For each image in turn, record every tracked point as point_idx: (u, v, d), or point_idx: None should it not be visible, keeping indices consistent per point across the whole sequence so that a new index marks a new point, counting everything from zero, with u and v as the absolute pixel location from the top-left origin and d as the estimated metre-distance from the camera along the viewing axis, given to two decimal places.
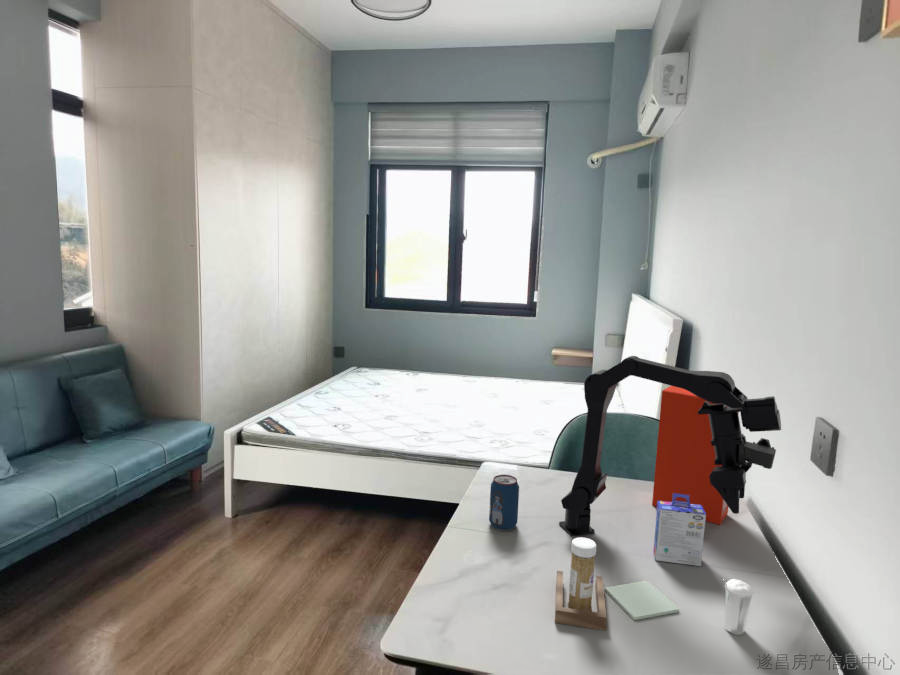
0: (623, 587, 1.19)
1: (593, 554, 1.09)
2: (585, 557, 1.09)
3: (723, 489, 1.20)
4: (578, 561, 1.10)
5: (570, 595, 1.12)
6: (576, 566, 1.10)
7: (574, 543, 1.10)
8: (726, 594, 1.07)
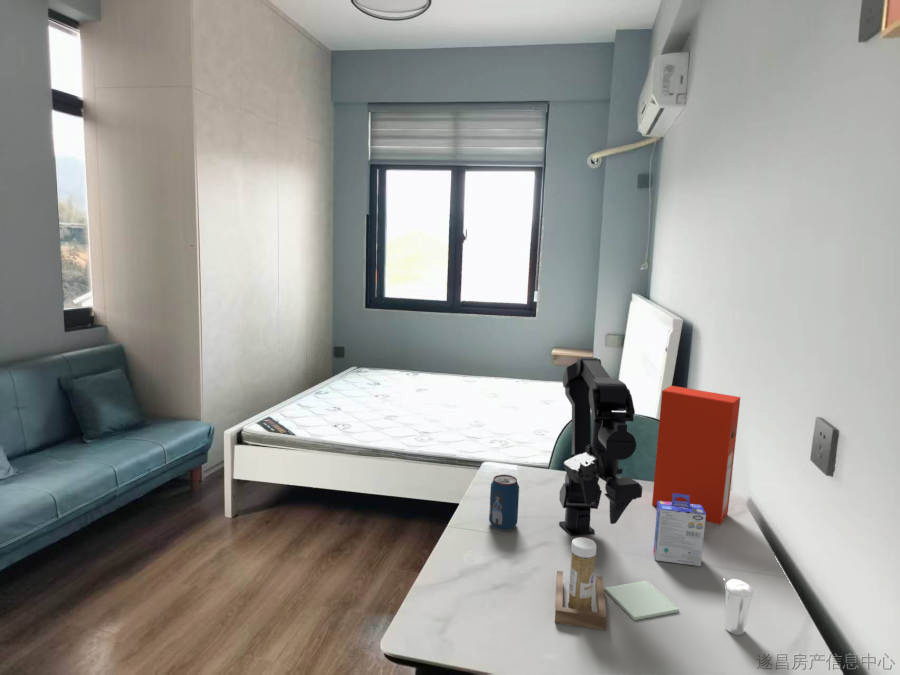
0: (623, 587, 1.19)
1: (593, 554, 1.09)
2: (585, 557, 1.09)
3: None
4: (578, 561, 1.10)
5: (570, 595, 1.12)
6: (576, 566, 1.10)
7: (574, 543, 1.10)
8: (726, 594, 1.07)
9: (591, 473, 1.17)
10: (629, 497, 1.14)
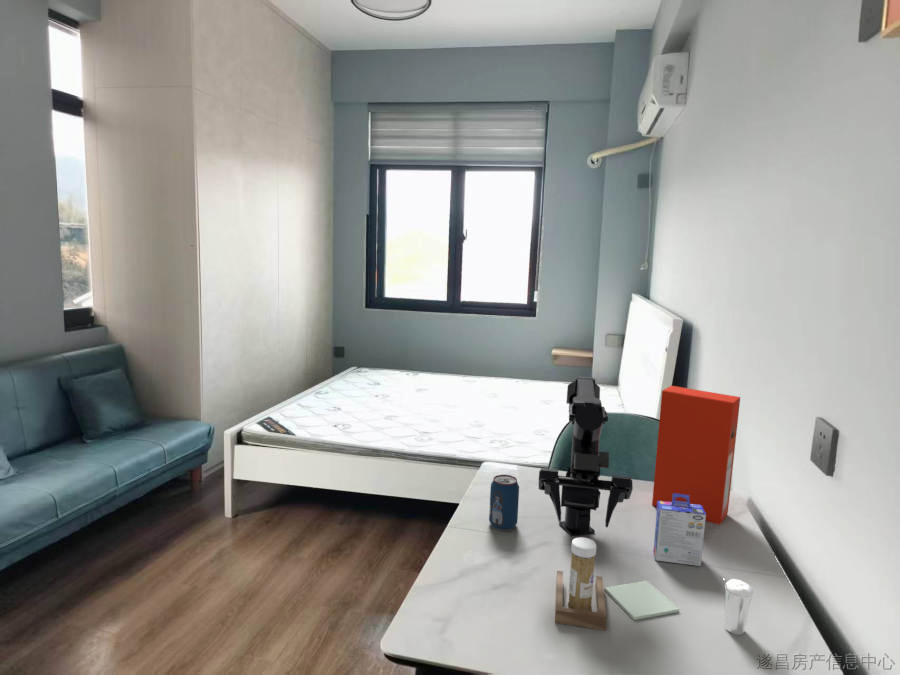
0: (623, 587, 1.19)
1: (593, 554, 1.09)
2: (585, 557, 1.09)
3: (552, 496, 1.23)
4: (578, 561, 1.10)
5: (570, 595, 1.12)
6: (576, 566, 1.10)
7: (574, 543, 1.10)
8: (726, 594, 1.07)
9: None
10: None
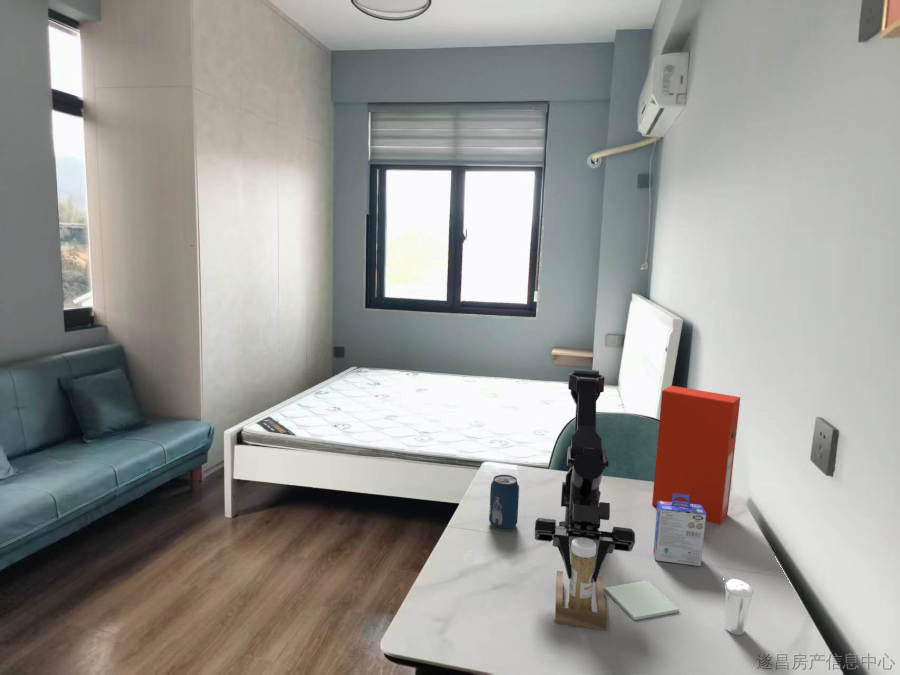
0: (623, 587, 1.19)
1: (593, 554, 1.09)
2: (585, 557, 1.09)
3: (561, 549, 1.15)
4: (578, 561, 1.09)
5: (570, 595, 1.12)
6: (576, 566, 1.10)
7: (574, 543, 1.10)
8: (726, 594, 1.07)
9: None
10: None
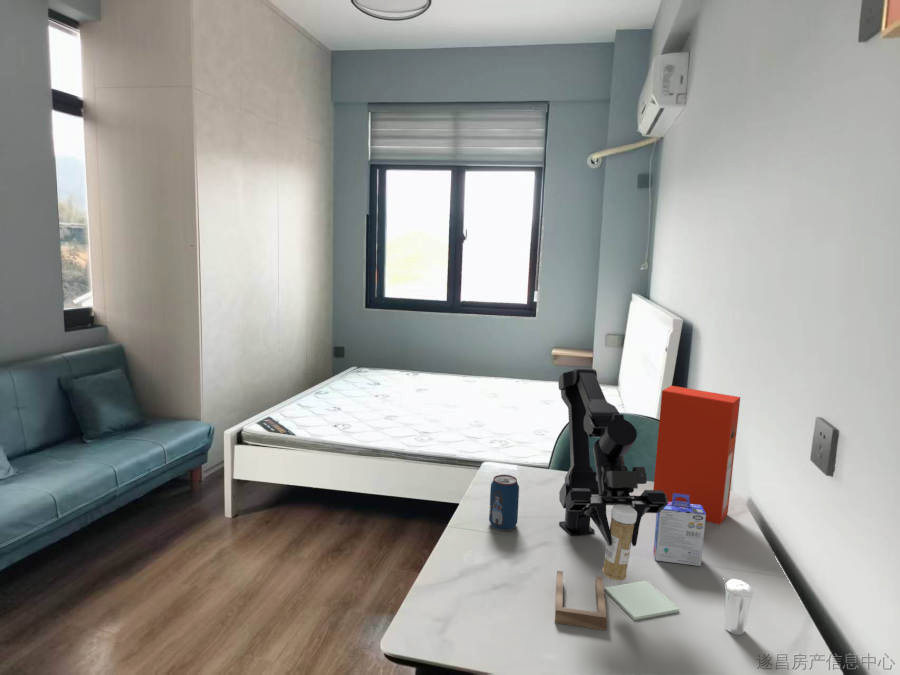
0: (623, 587, 1.19)
1: (635, 520, 1.10)
2: (628, 523, 1.09)
3: (595, 517, 1.15)
4: (620, 527, 1.10)
5: (608, 562, 1.12)
6: (618, 533, 1.10)
7: (616, 510, 1.10)
8: (726, 594, 1.07)
9: None
10: None
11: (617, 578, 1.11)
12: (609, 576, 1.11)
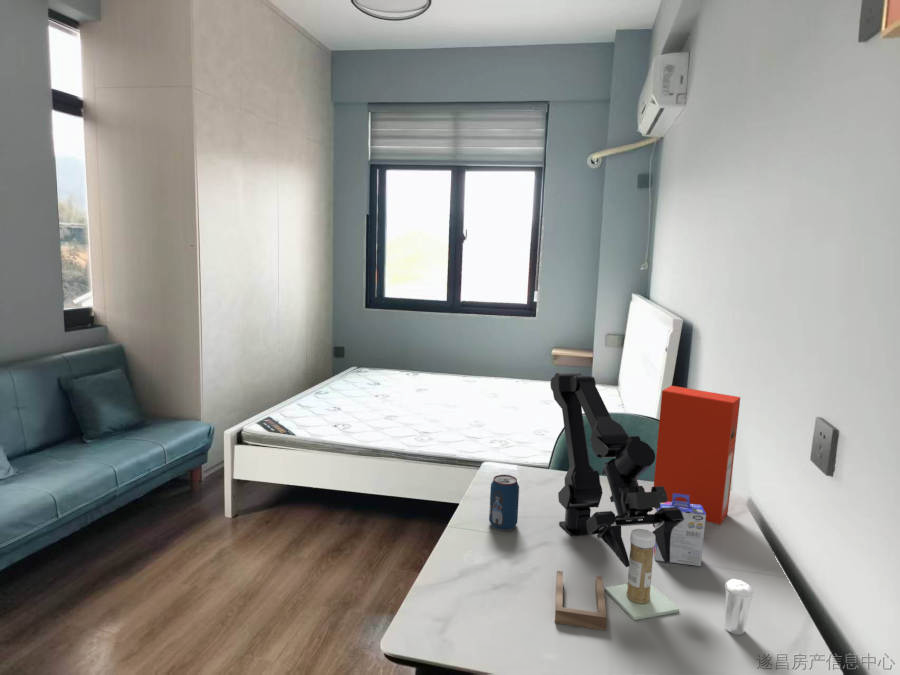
0: (623, 587, 1.19)
1: (654, 543, 1.13)
2: (650, 547, 1.12)
3: (609, 540, 1.16)
4: (642, 552, 1.12)
5: (632, 587, 1.14)
6: (641, 558, 1.12)
7: (636, 536, 1.13)
8: (726, 594, 1.07)
9: None
10: None
11: (643, 601, 1.14)
12: (635, 600, 1.14)
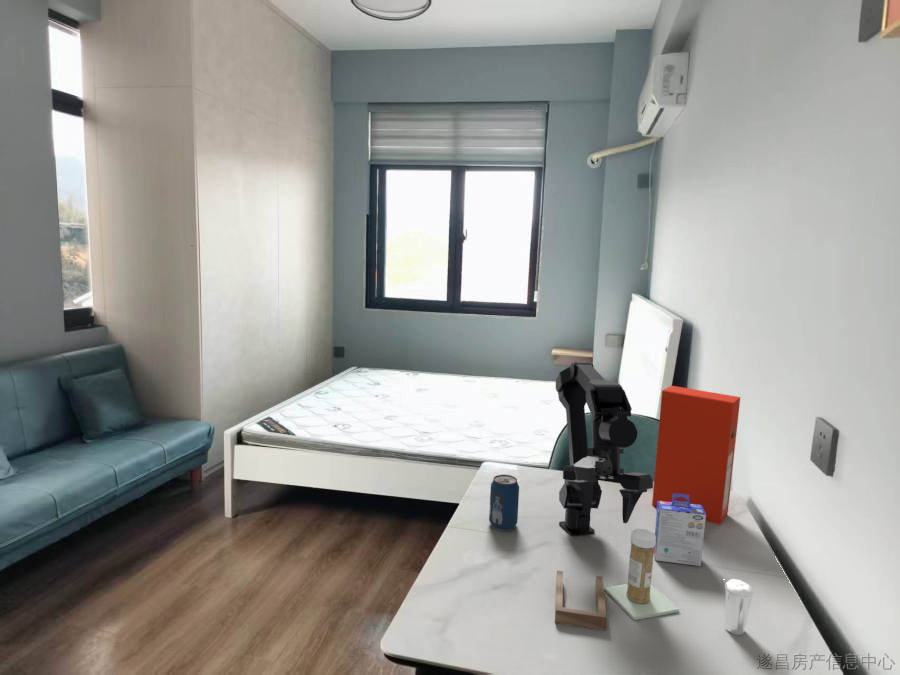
0: (623, 587, 1.19)
1: (655, 543, 1.13)
2: (650, 547, 1.12)
3: None
4: (643, 552, 1.12)
5: (632, 587, 1.14)
6: (641, 558, 1.12)
7: (637, 536, 1.13)
8: (726, 594, 1.07)
9: (607, 469, 1.18)
10: (645, 487, 1.17)
11: (643, 601, 1.14)
12: (635, 600, 1.14)
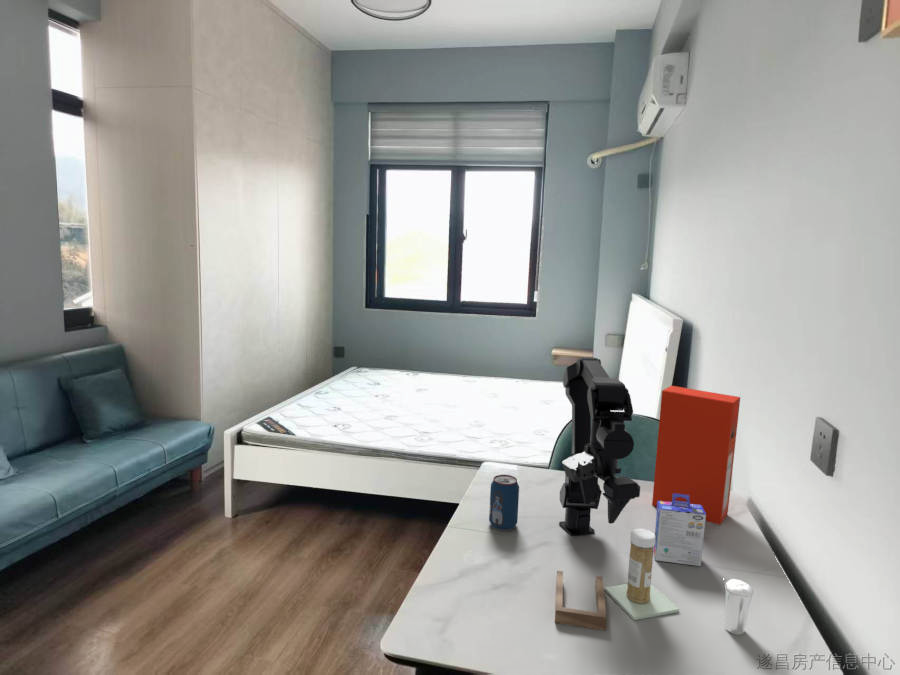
0: (623, 587, 1.19)
1: (654, 543, 1.13)
2: (650, 547, 1.12)
3: None
4: (642, 552, 1.12)
5: (632, 587, 1.14)
6: (641, 558, 1.12)
7: (636, 536, 1.13)
8: (726, 594, 1.07)
9: (589, 473, 1.17)
10: (627, 496, 1.14)
11: (643, 601, 1.14)
12: (635, 600, 1.14)
